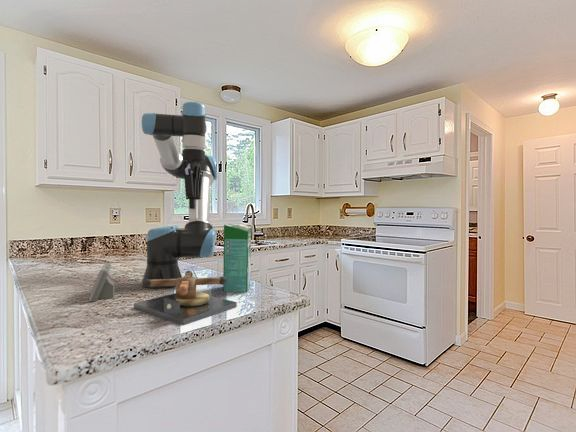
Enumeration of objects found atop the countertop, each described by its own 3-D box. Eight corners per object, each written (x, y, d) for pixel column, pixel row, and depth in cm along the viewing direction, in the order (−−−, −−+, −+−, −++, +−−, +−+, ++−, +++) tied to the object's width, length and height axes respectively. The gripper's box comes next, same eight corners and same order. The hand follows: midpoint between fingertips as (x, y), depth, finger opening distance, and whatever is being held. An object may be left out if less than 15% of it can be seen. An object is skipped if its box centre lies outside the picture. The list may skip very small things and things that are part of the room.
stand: (131, 308, 99) (131, 290, 99) (187, 294, 116) (187, 279, 116) (181, 325, 85) (181, 305, 85) (236, 306, 102) (236, 289, 102)
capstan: (133, 316, 86) (133, 288, 86) (151, 293, 110) (151, 271, 110) (227, 311, 91) (228, 285, 91) (224, 290, 115) (225, 269, 115)
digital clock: (95, 290, 119) (95, 262, 119) (122, 289, 121) (122, 261, 121) (78, 303, 104) (78, 270, 103) (109, 302, 106) (109, 269, 105)
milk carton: (247, 292, 120) (248, 224, 120) (223, 291, 121) (223, 224, 120) (250, 286, 130) (251, 223, 129) (228, 285, 130) (228, 223, 129)
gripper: (190, 152, 118) (190, 216, 119) (174, 146, 105) (174, 219, 106) (210, 152, 117) (210, 217, 118) (197, 146, 104) (196, 219, 105)
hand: (193, 218), depth 112 cm, fingers closed
